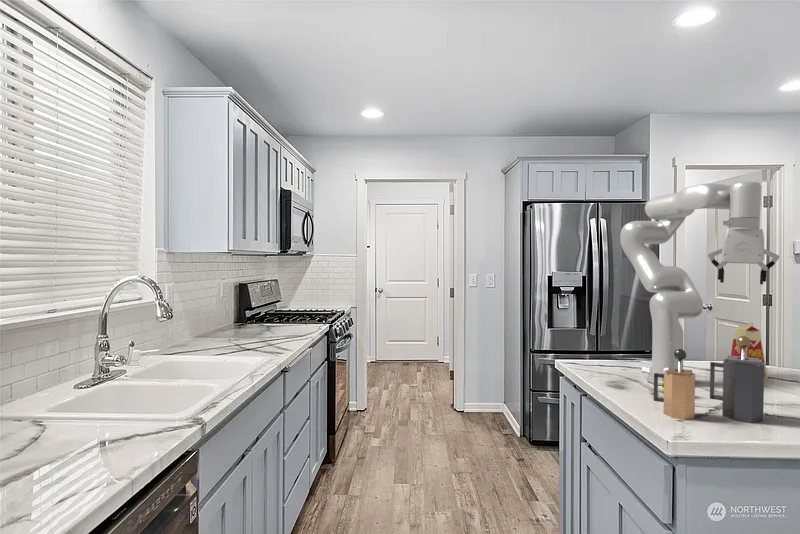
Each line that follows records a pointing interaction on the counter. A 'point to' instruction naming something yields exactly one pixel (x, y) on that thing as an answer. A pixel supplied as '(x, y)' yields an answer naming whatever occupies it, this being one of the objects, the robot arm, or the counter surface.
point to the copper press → (677, 393)
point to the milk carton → (755, 347)
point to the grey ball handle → (679, 357)
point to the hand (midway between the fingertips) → (741, 283)
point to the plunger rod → (743, 344)
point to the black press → (740, 388)
